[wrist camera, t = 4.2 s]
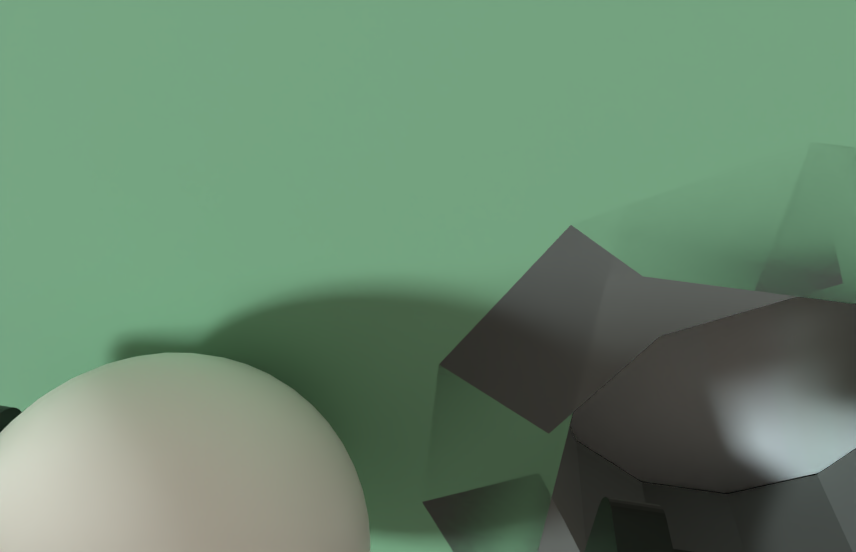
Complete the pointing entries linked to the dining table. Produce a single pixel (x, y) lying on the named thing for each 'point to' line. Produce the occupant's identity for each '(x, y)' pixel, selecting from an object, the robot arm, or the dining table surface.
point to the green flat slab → (433, 227)
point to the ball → (177, 465)
